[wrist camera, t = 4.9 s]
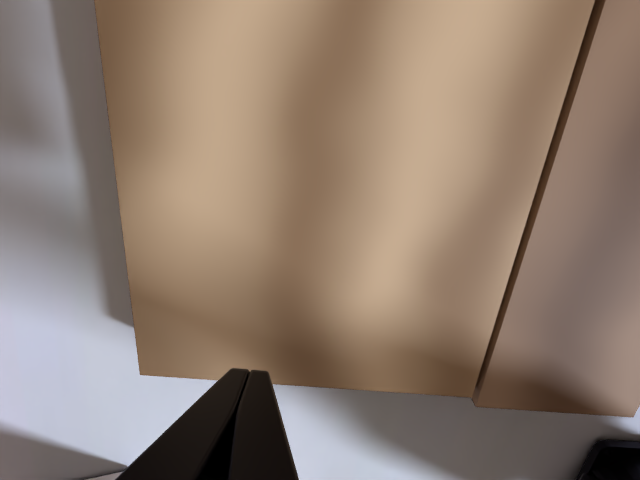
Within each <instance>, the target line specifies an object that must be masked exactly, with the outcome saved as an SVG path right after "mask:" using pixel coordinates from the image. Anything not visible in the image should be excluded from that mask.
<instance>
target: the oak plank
mask: <svg viewBox="0 0 640 480" xmlns="http://www.w3.org/2000/svg"><path fill="white" fill-rule="evenodd" d="M594 2H595V0H94V3H95V11H96V19H97V28H98V36H99V44H100V52H101V60H102V68H103V77H104V85H105V93H106V101H107V109H108V117H109V126H110V134H111V142H112V150H113V158H114V166H115V175H116V183H117V191H118V199H119V207H120V215H121V224H122V232H123V240H124V248H125V256H126V264H127V273H128V281H129V289H130V297H131V305H132V314H133V322H134V330H135V338H136V346H137V354H138V363H139V371H140V375H148V376H163V377H178V378H192V379H207V380H219V379H220V378H221V377H222V376H223V375H224V374H226V373H227V372H228V371H229V370H230V369H232V368H241V369H248V370H249V372H250V371H251V370H264V371H268V372H269V374H270V378H271V381H272V384H280V385H295V386H309V387H324V388H339V389H353V390H368V391H382V392H397V393H412V394H426V395H441V396H456V397H470V398H472V395H473V392H474V389H475V385H476V382H477V379H478V376H479V373H480V369H481V366H482V363H483V360H484V356H485V353H486V350H487V347H488V343H489V340H490V337H491V334H492V331H493V327H494V324H495V321H496V318H497V314H498V311H499V308H500V305H501V302H502V298H503V295H504V292H505V289H506V285H507V282H508V279H509V276H510V273H511V269H512V266H513V263H514V260H515V256H516V253H517V250H518V247H519V244H520V240H521V237H522V234H523V231H524V227H525V224H526V221H527V218H528V214H529V211H530V208H531V205H532V202H533V198H534V195H535V192H536V189H537V185H538V182H539V179H540V176H541V173H542V169H543V166H544V163H545V160H546V156H547V153H548V150H549V147H550V144H551V140H552V137H553V134H554V131H555V127H556V124H557V121H558V118H559V115H560V111H561V108H562V105H563V102H564V98H565V95H566V92H567V89H568V86H569V82H570V79H571V76H572V73H573V69H574V66H575V63H576V60H577V56H578V53H579V50H580V47H581V44H582V40H583V37H584V34H585V31H586V27H587V24H588V21H589V18H590V15H591V11H592V8H593V5H594Z"/></svg>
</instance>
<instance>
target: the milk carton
mask: <svg viewBox="0 0 640 480" xmlns="http://www.w3.org/2000/svg"><path fill="white" fill-rule="evenodd" d="M121 473H122V472H118V473H114V474H109V475H105V476H100V477H95V478H91V479H86V480H115V479H116V478H117V477H118V476H119V475H120V474H121Z"/></svg>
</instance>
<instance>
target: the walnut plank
mask: <svg viewBox="0 0 640 480" xmlns="http://www.w3.org/2000/svg"><path fill="white" fill-rule="evenodd" d="M472 400H473V402H474V404H475V406H476V407H485V408H500V409H515V410H530V411H545V412H560V413H575V414H590V415H605V416H621V417H634V415H635V413H636V411H637V409H638V407H639V405H640V0H595V2H594V5H593V8H592V11H591V15H590V18H589V21H588V24H587V27H586V31H585V34H584V37H583V40H582V44H581V47H580V50H579V53H578V56H577V60H576V63H575V66H574V69H573V73H572V76H571V79H570V82H569V86H568V89H567V92H566V95H565V98H564V102H563V105H562V108H561V111H560V115H559V118H558V121H557V124H556V127H555V131H554V134H553V137H552V140H551V144H550V147H549V150H548V153H547V156H546V160H545V163H544V166H543V169H542V173H541V176H540V179H539V182H538V185H537V189H536V192H535V195H534V198H533V202H532V205H531V208H530V211H529V214H528V218H527V221H526V224H525V227H524V231H523V234H522V237H521V240H520V244H519V247H518V250H517V253H516V256H515V260H514V263H513V266H512V269H511V273H510V276H509V279H508V282H507V285H506V289H505V292H504V295H503V298H502V302H501V305H500V308H499V311H498V314H497V318H496V321H495V324H494V327H493V331H492V334H491V337H490V340H489V343H488V347H487V350H486V353H485V356H484V360H483V363H482V366H481V369H480V373H479V376H478V379H477V382H476V385H475V389H474V392H473V395H472Z"/></svg>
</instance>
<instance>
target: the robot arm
mask: <svg viewBox="0 0 640 480" xmlns="http://www.w3.org/2000/svg"><path fill="white" fill-rule="evenodd" d="M115 480H299V478H298V475H297V471H296V468H295V464H294V460H293V457H292V453H291V450H290V446H289V442H288V439H287V435H286V432H285V428H284V425H283V421H282V417H281V414H280V410H279V407H278V403H277V399H276V396H275V392H274V389H273V385H272V381H271V378H270V374H269V372H268V371H264V370H251V371H250V372H249V370H248V369H241V368H232V369H230V370H229V371H228V372H227V373H226V374H224V375H223V376H222V377H221V378H220V379H219V380H218V381H217V382H216V383H215V384H214V385H213V386H212V387H211V388H210V389H209V390H208V391H207V392H206V393H205V394H204V395H203V396H202V397H200V398H199V399H198V400H197V401H196V402H195V403H194V404H193V405H192V406H191V407H190V408H189V409H188V410H187V411H186V412H185V413H184V414H183V415H182V416H181V417H180V418H179V419H178V420H176V421H175V422H174V423H173V424H172V425H171V426H170V427H169V428H168V429H167V430H166V431H165V432H164V433H163V434H162V435H161V436H160V437H159V438H158V439H157V440H156V441H155V442H154V443H152V444H151V445H150V446H149V447H148V448H147V449H146V450H145V451H144V452H143V453H142V454H141V455H140V456H139V457H138V458H137V459H136V460H135V461H134V462H133V463H132V464H131V465H130V466H128V467H127V468H126V469H125V470H124V471H123V472H122V473H121V474H120V475H119V476H118V477H117V478H116V479H115ZM576 480H640V442H632V441H616V440H601V441H598V442H597V443H595V444H594V446H593V447H592V449H591V451H590V453H589V455H588V457H587V459H586V461H585V463H584V465H583V467H582V469H581V471H580V473H579V475H578V477H577V479H576Z"/></svg>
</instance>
